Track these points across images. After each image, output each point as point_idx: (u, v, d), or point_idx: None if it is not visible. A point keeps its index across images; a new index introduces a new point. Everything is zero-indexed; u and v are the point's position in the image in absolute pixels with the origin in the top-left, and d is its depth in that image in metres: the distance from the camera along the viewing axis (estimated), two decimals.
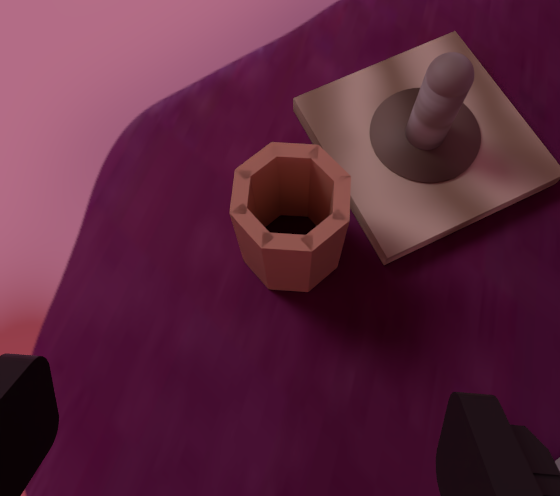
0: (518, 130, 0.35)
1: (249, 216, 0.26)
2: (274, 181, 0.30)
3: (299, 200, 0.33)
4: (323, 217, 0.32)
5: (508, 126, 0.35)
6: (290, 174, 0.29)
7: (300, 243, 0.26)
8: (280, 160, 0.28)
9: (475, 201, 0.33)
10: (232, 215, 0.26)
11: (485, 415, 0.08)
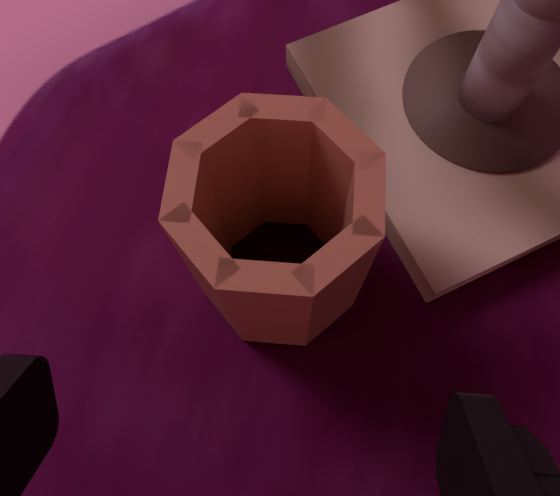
0: None
1: (195, 227, 0.14)
2: (249, 165, 0.18)
3: (292, 198, 0.20)
4: (332, 227, 0.20)
5: None
6: (276, 153, 0.17)
7: (290, 280, 0.13)
8: (257, 126, 0.16)
9: None
10: (163, 225, 0.14)
11: (485, 415, 0.08)
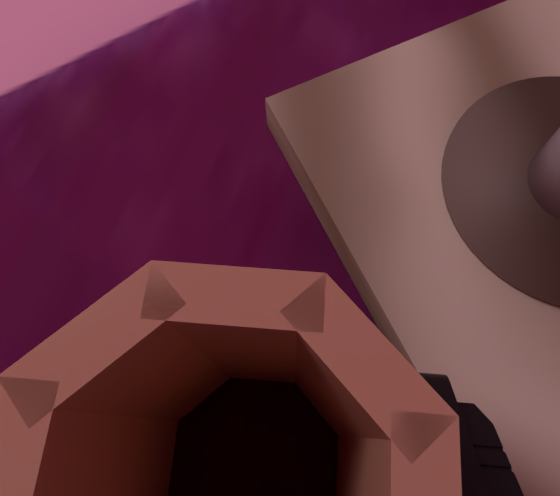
0: None
1: None
2: (184, 358, 0.10)
3: (270, 370, 0.12)
4: (335, 422, 0.12)
5: None
6: (232, 346, 0.09)
7: None
8: (184, 327, 0.08)
9: None
10: None
11: None
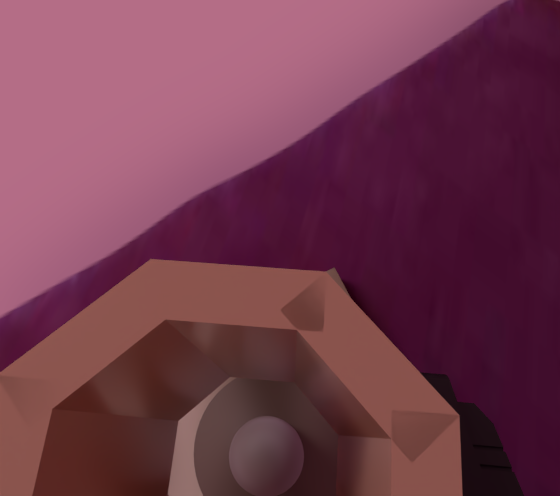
0: None
1: None
2: (184, 358, 0.10)
3: (270, 370, 0.12)
4: (335, 422, 0.12)
5: None
6: (232, 346, 0.09)
7: None
8: (184, 326, 0.08)
9: None
10: None
11: None
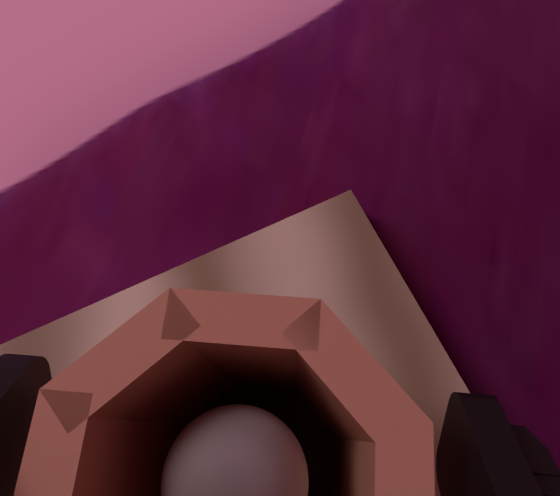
0: None
1: None
2: (196, 370, 0.11)
3: (272, 378, 0.13)
4: (331, 426, 0.13)
5: None
6: (238, 360, 0.10)
7: None
8: (198, 345, 0.09)
9: None
10: None
11: (485, 415, 0.08)
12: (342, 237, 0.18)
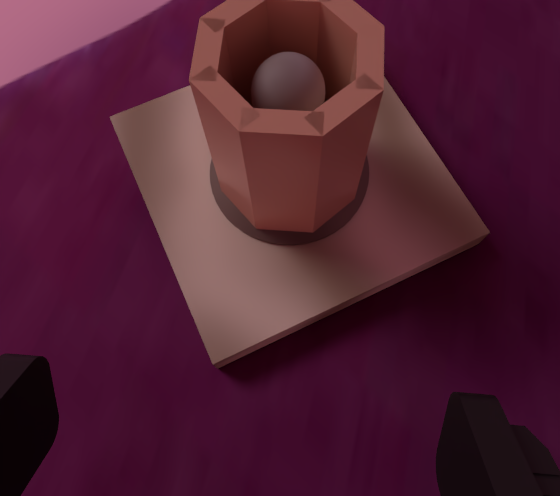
0: (425, 166, 0.24)
1: (220, 84, 0.16)
2: (263, 55, 0.20)
3: None
4: None
5: (411, 160, 0.24)
6: (287, 41, 0.19)
7: (303, 124, 0.16)
8: (272, 9, 0.18)
9: (354, 275, 0.22)
10: (193, 83, 0.16)
11: (485, 415, 0.08)
12: None
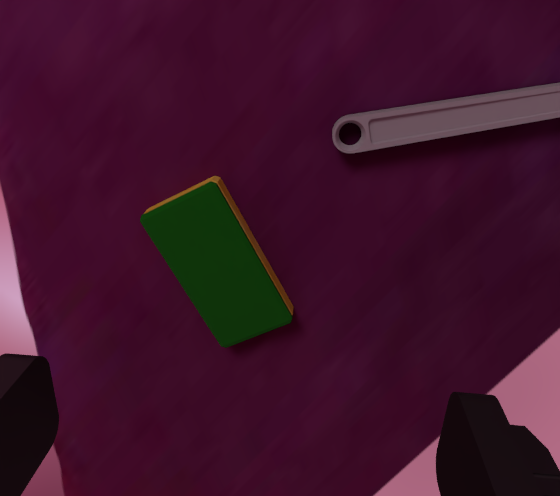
0: None
1: None
2: None
3: None
4: None
5: None
6: None
7: None
8: None
9: None
10: None
11: (485, 415, 0.08)
12: None
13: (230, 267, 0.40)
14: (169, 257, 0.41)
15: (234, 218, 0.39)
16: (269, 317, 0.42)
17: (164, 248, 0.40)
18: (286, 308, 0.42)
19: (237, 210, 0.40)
